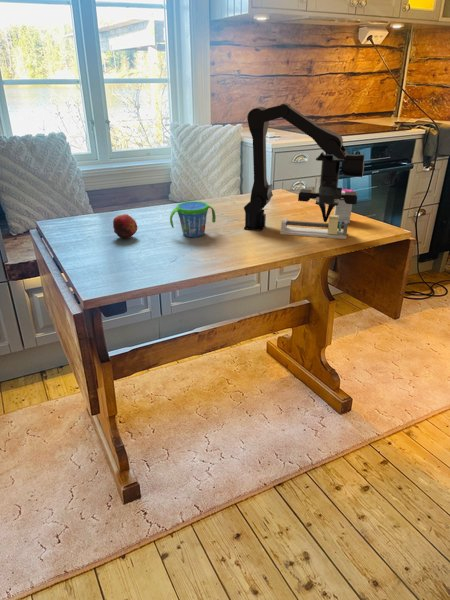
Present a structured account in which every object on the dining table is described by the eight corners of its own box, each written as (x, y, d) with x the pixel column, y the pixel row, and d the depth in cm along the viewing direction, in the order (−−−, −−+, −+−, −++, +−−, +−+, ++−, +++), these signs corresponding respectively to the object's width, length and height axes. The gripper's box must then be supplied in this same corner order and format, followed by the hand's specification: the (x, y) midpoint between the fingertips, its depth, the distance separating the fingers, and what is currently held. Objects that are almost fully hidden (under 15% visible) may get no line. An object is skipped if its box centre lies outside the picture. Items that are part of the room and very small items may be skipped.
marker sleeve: (327, 233, 156) (329, 219, 153) (328, 229, 160) (329, 215, 158) (336, 234, 155) (338, 219, 153) (337, 230, 159) (338, 215, 157)
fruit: (141, 235, 159) (139, 212, 155) (131, 243, 152) (129, 219, 148) (120, 233, 160) (118, 211, 157) (110, 240, 154) (107, 217, 150)
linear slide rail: (280, 234, 159) (281, 220, 157) (282, 228, 164) (283, 215, 162) (346, 239, 154) (347, 225, 152) (346, 233, 160) (348, 219, 157)
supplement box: (350, 224, 168) (353, 193, 163) (333, 223, 169) (336, 192, 164) (349, 219, 173) (353, 189, 168) (333, 218, 174) (336, 188, 169)
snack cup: (173, 241, 153) (171, 211, 149) (168, 231, 162) (167, 202, 158) (219, 237, 157) (218, 207, 152) (212, 227, 166) (211, 199, 161)
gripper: (298, 179, 144) (294, 227, 152) (359, 182, 140) (353, 231, 148) (301, 171, 154) (298, 217, 161) (359, 174, 150) (353, 221, 157)
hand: (325, 221), depth 156 cm, fingers closed
